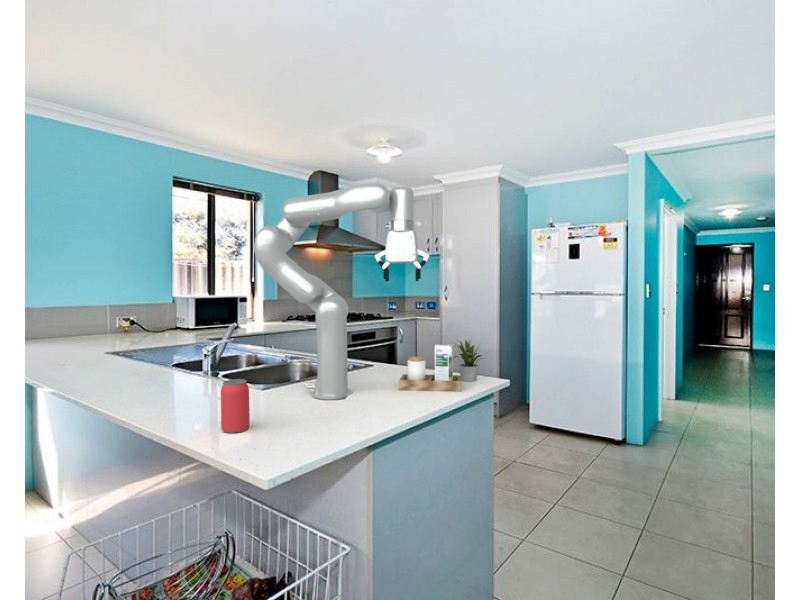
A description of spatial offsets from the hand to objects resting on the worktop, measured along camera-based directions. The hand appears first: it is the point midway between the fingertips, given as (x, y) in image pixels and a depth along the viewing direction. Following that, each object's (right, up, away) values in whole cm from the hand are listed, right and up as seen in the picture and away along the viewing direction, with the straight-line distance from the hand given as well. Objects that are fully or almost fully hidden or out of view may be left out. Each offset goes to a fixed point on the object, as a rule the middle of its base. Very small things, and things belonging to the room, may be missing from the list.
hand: (402, 281), depth 150 cm
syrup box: (+14, -35, +7) cm, 39 cm away
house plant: (+23, -36, +19) cm, 47 cm away
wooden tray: (+10, -36, +8) cm, 38 cm away
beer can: (-41, -38, -34) cm, 66 cm away
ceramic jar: (+5, -35, +8) cm, 36 cm away
